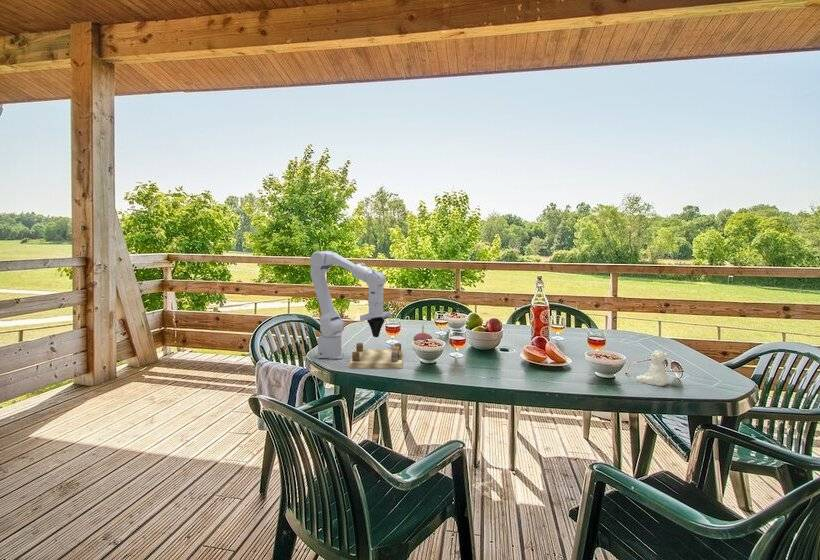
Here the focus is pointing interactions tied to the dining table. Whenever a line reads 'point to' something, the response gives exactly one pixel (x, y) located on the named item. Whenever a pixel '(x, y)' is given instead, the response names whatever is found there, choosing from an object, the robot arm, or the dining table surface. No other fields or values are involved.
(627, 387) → the dining table surface
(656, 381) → the seated beast figurine
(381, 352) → the stool seat
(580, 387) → the dining table surface
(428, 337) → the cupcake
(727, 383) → the dining table surface
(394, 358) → the folding leg
